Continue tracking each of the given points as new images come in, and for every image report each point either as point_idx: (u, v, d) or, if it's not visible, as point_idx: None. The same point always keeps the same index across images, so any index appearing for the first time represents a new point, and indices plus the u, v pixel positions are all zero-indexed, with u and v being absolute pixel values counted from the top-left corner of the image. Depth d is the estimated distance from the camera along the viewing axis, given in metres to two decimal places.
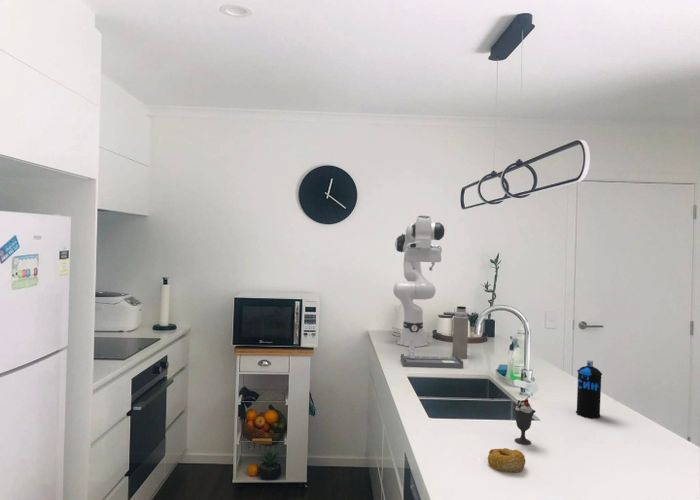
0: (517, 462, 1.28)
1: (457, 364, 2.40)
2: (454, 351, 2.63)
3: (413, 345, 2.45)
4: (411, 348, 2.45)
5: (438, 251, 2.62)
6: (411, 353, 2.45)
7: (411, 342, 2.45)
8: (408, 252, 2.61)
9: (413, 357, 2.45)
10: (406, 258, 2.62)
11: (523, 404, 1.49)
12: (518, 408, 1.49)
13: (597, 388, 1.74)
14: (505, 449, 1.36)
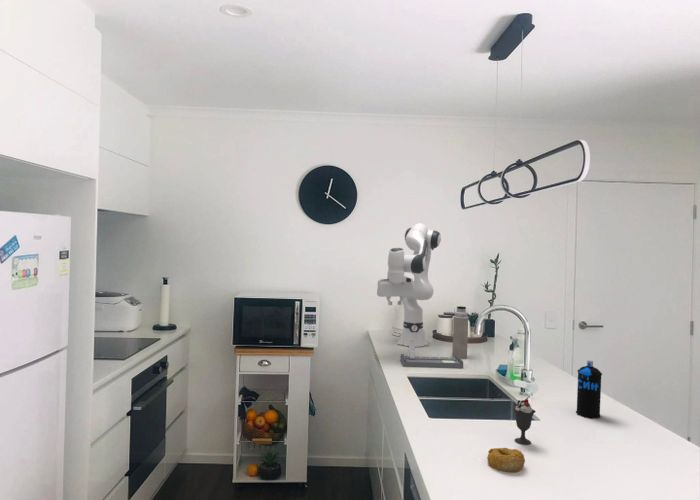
0: (517, 461, 1.29)
1: (457, 364, 2.40)
2: (454, 351, 2.63)
3: (413, 345, 2.45)
4: (411, 348, 2.45)
5: None
6: (411, 353, 2.45)
7: (411, 342, 2.45)
8: None
9: (413, 357, 2.45)
10: None
11: (523, 404, 1.49)
12: (518, 408, 1.49)
13: (597, 388, 1.74)
14: (504, 448, 1.36)
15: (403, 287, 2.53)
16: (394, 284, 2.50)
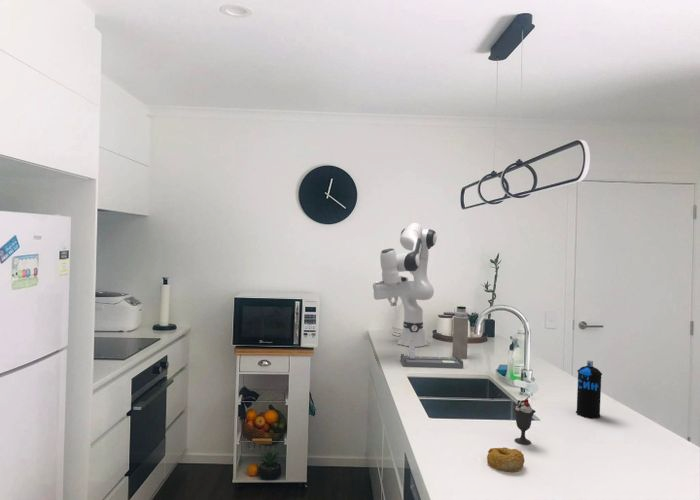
0: (517, 461, 1.29)
1: (457, 364, 2.40)
2: (454, 351, 2.63)
3: (413, 345, 2.45)
4: (411, 348, 2.45)
5: None
6: (411, 353, 2.45)
7: (411, 342, 2.45)
8: None
9: (413, 357, 2.45)
10: None
11: (523, 404, 1.49)
12: (518, 408, 1.49)
13: (597, 388, 1.74)
14: (504, 448, 1.37)
15: (399, 287, 2.51)
16: (389, 285, 2.49)
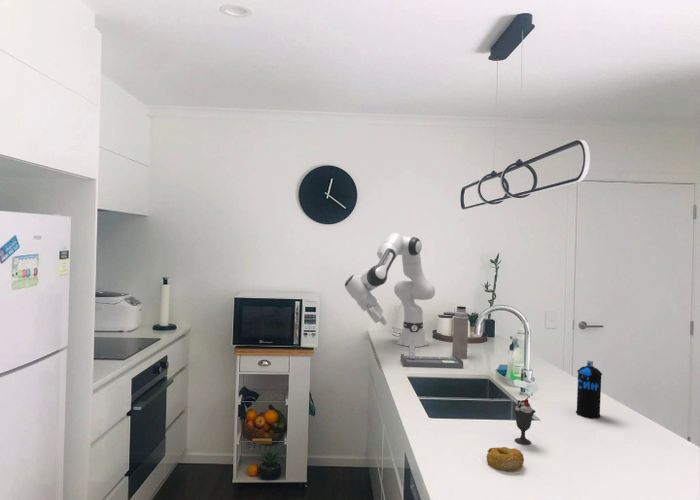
0: (516, 461, 1.29)
1: (457, 364, 2.40)
2: (454, 351, 2.63)
3: (413, 345, 2.45)
4: (411, 348, 2.45)
5: (368, 313, 2.39)
6: (411, 353, 2.45)
7: (411, 342, 2.45)
8: None
9: (413, 357, 2.45)
10: None
11: (523, 404, 1.49)
12: (518, 408, 1.49)
13: (597, 388, 1.74)
14: (504, 448, 1.37)
15: (376, 306, 2.50)
16: (375, 305, 2.44)
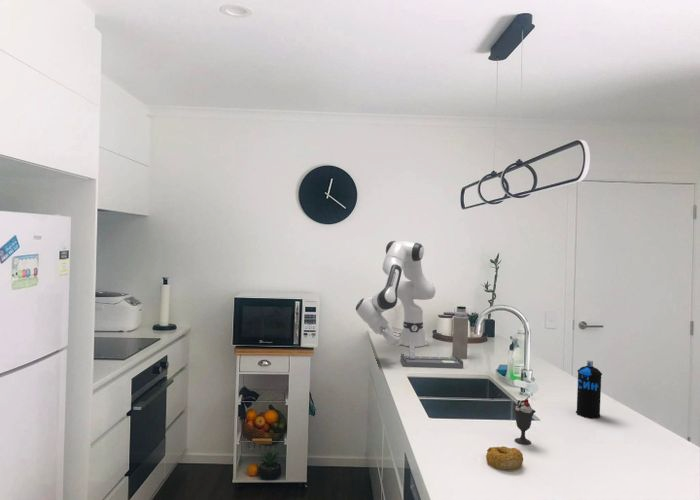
0: (516, 460, 1.29)
1: (457, 364, 2.40)
2: (454, 351, 2.63)
3: (413, 345, 2.45)
4: (411, 348, 2.45)
5: (383, 335, 2.38)
6: (411, 353, 2.45)
7: (411, 342, 2.45)
8: None
9: (413, 357, 2.45)
10: None
11: (523, 404, 1.49)
12: (518, 408, 1.49)
13: (597, 388, 1.74)
14: (503, 447, 1.37)
15: (387, 328, 2.50)
16: (387, 327, 2.44)
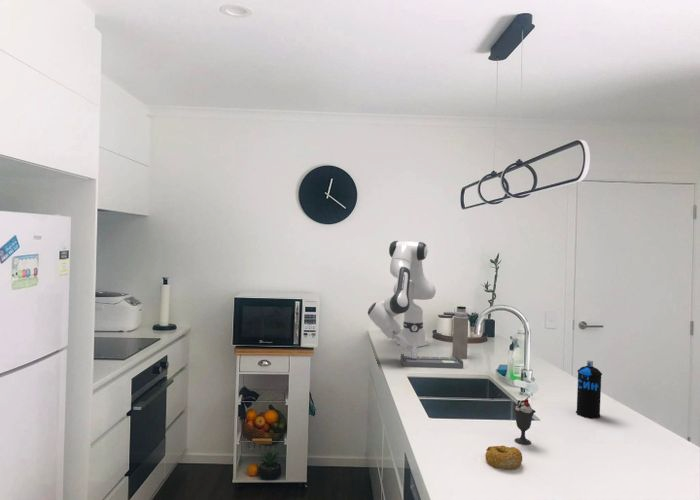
0: (515, 459, 1.30)
1: (457, 364, 2.40)
2: (454, 351, 2.63)
3: (415, 345, 2.45)
4: (413, 348, 2.45)
5: None
6: (413, 353, 2.45)
7: (413, 342, 2.45)
8: None
9: (415, 357, 2.45)
10: None
11: (523, 404, 1.49)
12: (518, 408, 1.49)
13: (597, 388, 1.74)
14: (502, 446, 1.38)
15: (399, 332, 2.50)
16: (399, 331, 2.45)
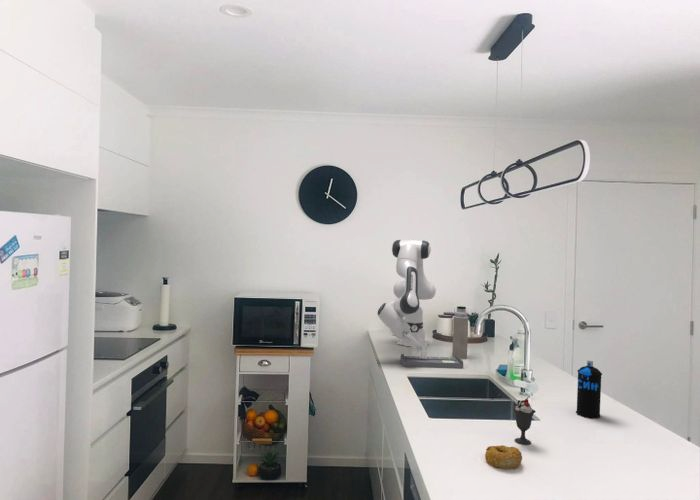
0: (515, 459, 1.30)
1: (457, 364, 2.40)
2: (454, 351, 2.63)
3: (425, 345, 2.45)
4: (423, 348, 2.45)
5: (405, 340, 2.38)
6: (423, 353, 2.45)
7: (423, 342, 2.45)
8: None
9: (425, 357, 2.45)
10: None
11: (523, 404, 1.49)
12: (518, 408, 1.49)
13: (597, 388, 1.74)
14: (502, 446, 1.38)
15: (409, 333, 2.50)
16: (409, 331, 2.45)
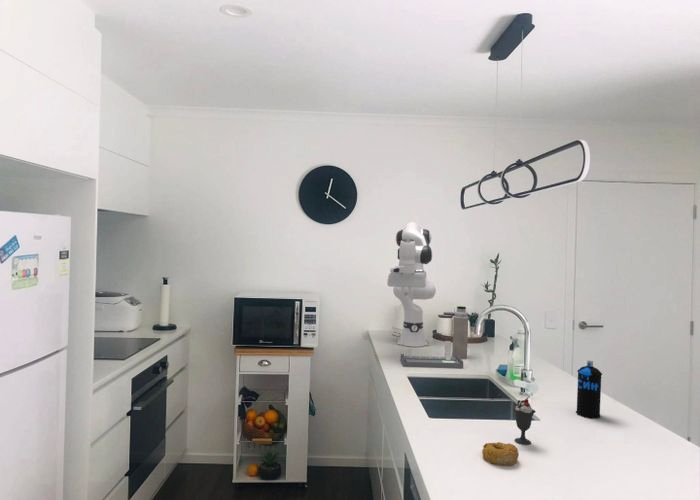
0: (511, 455, 1.32)
1: (457, 364, 2.40)
2: (454, 351, 2.63)
3: (449, 346, 2.45)
4: (447, 349, 2.45)
5: (422, 276, 2.53)
6: (447, 354, 2.45)
7: (447, 343, 2.45)
8: (391, 277, 2.53)
9: (449, 358, 2.45)
10: (389, 283, 2.53)
11: (523, 404, 1.49)
12: (518, 408, 1.49)
13: (597, 388, 1.74)
14: (499, 443, 1.40)
15: None
16: None
